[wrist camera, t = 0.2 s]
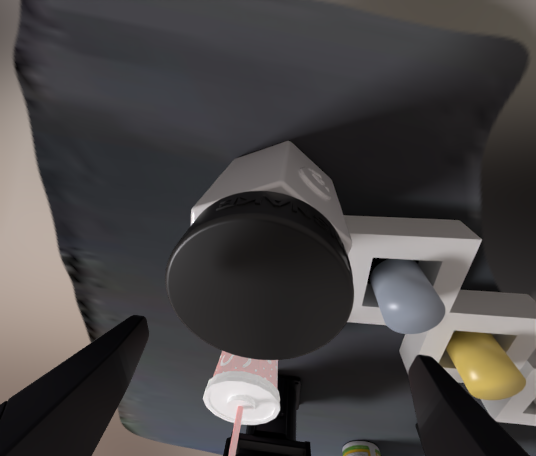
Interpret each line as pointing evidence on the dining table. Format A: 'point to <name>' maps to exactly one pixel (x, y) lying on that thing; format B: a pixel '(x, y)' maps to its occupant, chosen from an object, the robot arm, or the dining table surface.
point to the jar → (265, 259)
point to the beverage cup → (243, 392)
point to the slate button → (406, 297)
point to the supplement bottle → (360, 449)
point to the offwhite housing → (517, 400)
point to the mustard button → (484, 366)
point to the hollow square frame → (479, 328)
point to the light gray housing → (409, 257)
